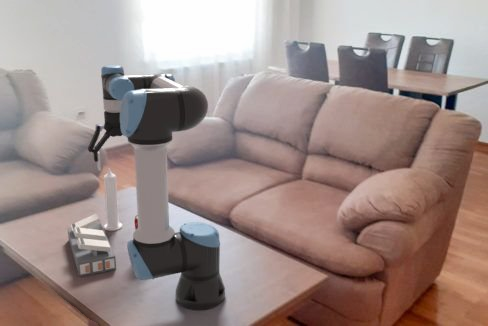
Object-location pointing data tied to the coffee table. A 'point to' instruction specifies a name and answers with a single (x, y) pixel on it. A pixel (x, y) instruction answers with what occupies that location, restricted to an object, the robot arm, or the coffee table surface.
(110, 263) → the console
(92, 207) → the coffee table surface
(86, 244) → the rocker near
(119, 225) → the candle
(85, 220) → the rocker far
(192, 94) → the robot arm
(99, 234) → the rocker mid
